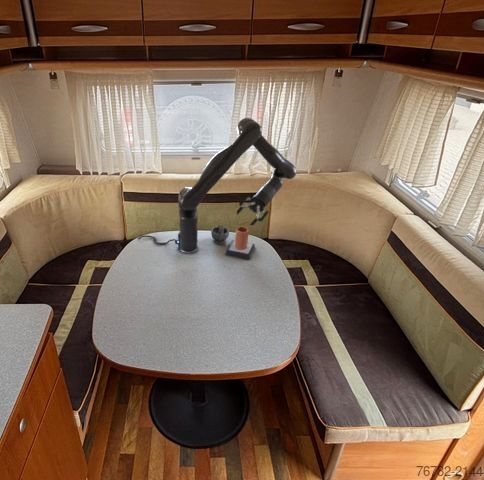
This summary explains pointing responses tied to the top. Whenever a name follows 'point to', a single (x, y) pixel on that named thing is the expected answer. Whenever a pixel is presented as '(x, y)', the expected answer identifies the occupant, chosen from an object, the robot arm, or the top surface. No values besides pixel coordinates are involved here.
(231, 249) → the scale
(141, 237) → the robot arm
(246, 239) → the cup
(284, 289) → the top surface
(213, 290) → the top surface
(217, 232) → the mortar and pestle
